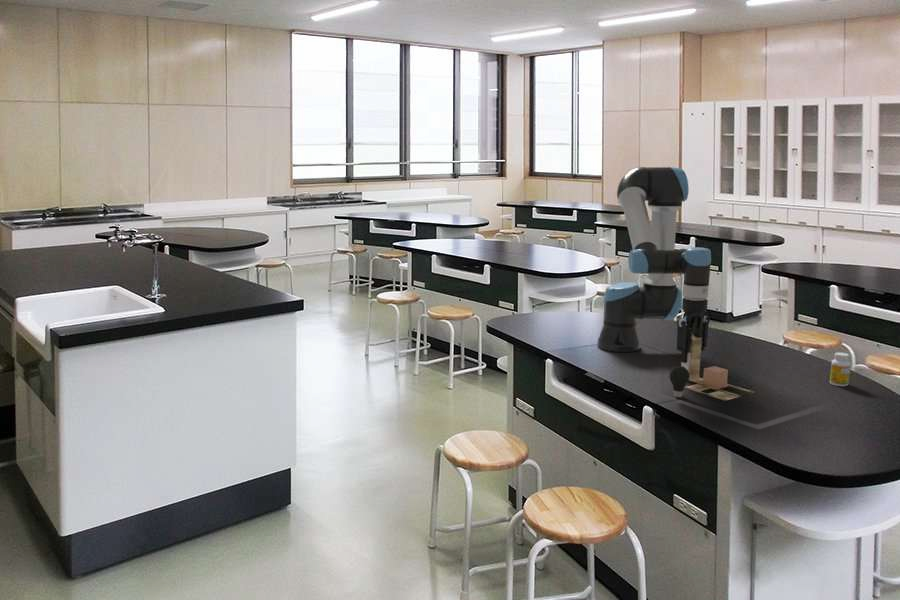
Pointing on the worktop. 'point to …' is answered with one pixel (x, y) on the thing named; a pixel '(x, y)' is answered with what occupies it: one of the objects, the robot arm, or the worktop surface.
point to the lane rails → (719, 390)
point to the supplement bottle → (840, 370)
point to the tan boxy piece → (696, 360)
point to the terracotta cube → (715, 377)
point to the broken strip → (717, 393)
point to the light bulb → (679, 379)
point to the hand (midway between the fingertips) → (690, 370)
